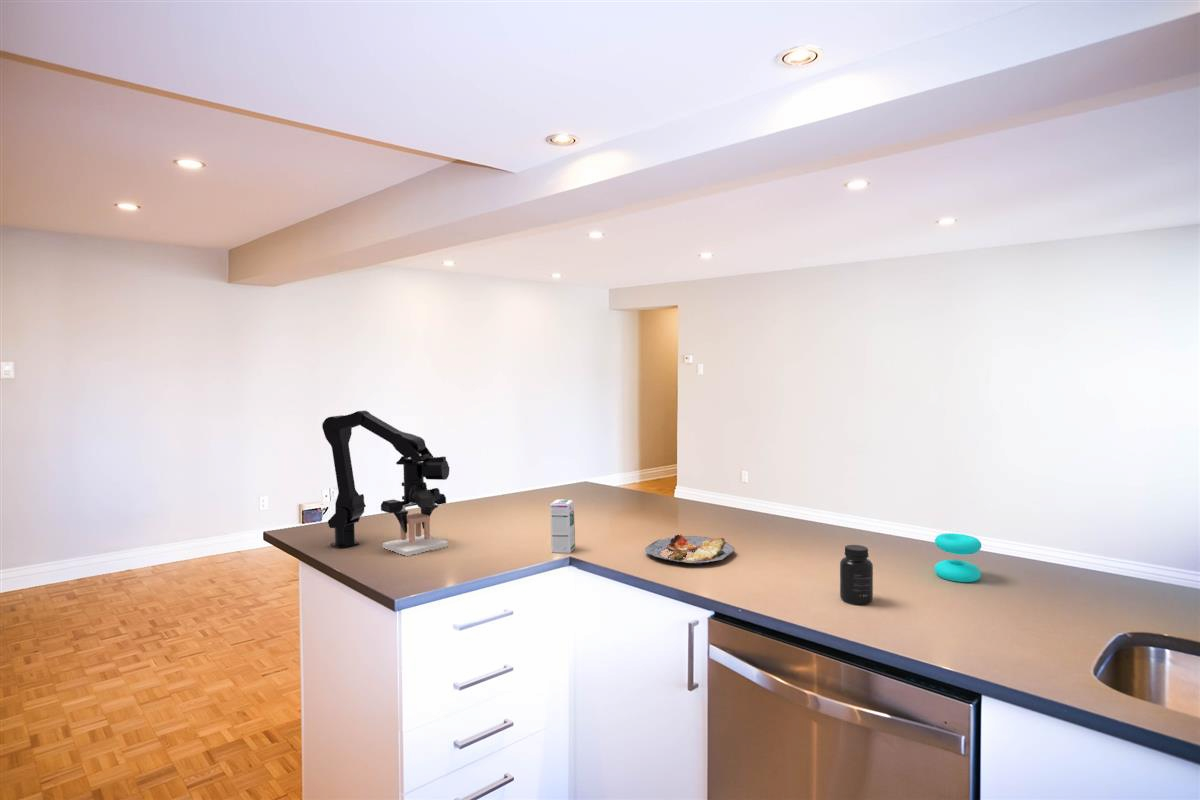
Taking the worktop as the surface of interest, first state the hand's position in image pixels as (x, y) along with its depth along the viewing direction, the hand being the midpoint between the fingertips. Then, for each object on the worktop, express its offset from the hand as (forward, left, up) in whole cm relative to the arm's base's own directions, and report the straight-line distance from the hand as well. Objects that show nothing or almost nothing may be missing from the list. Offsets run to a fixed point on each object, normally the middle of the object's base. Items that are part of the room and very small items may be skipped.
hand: (415, 530), depth 191 cm
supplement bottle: (+115, +43, -5) cm, 123 cm away
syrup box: (+36, +27, -5) cm, 45 cm away
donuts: (+127, +75, -5) cm, 148 cm away
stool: (0, 0, -2) cm, 2 cm away
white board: (0, 0, -5) cm, 5 cm away
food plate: (+66, +48, -6) cm, 82 cm away
